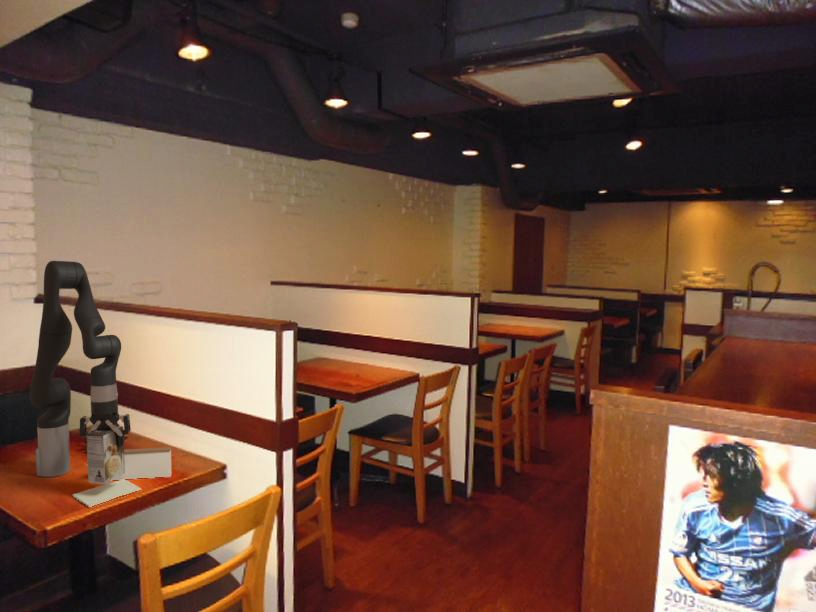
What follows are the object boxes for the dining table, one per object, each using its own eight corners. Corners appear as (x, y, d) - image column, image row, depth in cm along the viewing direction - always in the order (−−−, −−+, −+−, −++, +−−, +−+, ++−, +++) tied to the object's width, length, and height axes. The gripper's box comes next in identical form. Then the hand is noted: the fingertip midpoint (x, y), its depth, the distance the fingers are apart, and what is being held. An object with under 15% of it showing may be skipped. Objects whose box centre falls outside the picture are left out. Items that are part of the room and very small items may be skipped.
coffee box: (108, 471, 182) (106, 424, 181) (125, 473, 181) (124, 426, 180) (87, 483, 173) (85, 433, 172) (105, 485, 172) (103, 435, 171)
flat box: (100, 482, 186) (99, 453, 186) (103, 479, 189) (101, 450, 188) (170, 477, 191) (169, 449, 190) (171, 474, 194) (170, 446, 193)
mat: (89, 508, 168) (88, 505, 168) (72, 496, 175) (72, 494, 175) (141, 490, 180) (141, 488, 180) (124, 481, 188) (124, 478, 187)
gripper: (75, 402, 169) (77, 453, 171) (125, 400, 173) (127, 450, 174) (83, 396, 177) (85, 445, 178) (131, 394, 180) (133, 442, 181)
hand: (106, 447), depth 176 cm, fingers closed on coffee box, 8 cm apart
